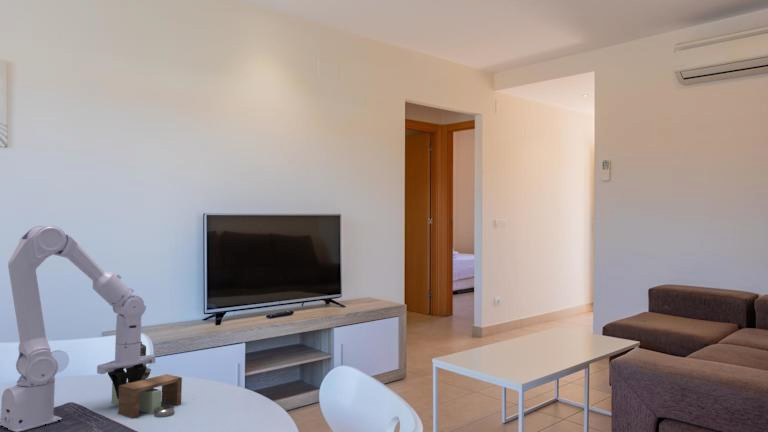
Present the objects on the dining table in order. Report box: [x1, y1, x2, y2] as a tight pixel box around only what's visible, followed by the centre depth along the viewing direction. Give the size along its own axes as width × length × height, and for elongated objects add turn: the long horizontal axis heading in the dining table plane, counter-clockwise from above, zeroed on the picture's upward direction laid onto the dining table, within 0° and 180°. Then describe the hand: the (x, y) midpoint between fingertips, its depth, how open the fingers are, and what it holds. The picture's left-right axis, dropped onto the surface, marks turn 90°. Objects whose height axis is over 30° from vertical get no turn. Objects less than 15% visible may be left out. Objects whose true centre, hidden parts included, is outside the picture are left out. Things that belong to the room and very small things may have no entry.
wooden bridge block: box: [117, 373, 183, 419], centre depth 130 cm, size 13×6×7 cm, turn 149°
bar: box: [111, 381, 162, 415], centre depth 132 cm, size 2×16×5 cm, turn 59°
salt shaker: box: [140, 341, 152, 380], centre depth 153 cm, size 6×6×12 cm
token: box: [153, 405, 175, 418], centre depth 126 cm, size 4×4×2 cm
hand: (126, 397), depth 134 cm, fingers closed on bar, 2 cm apart
